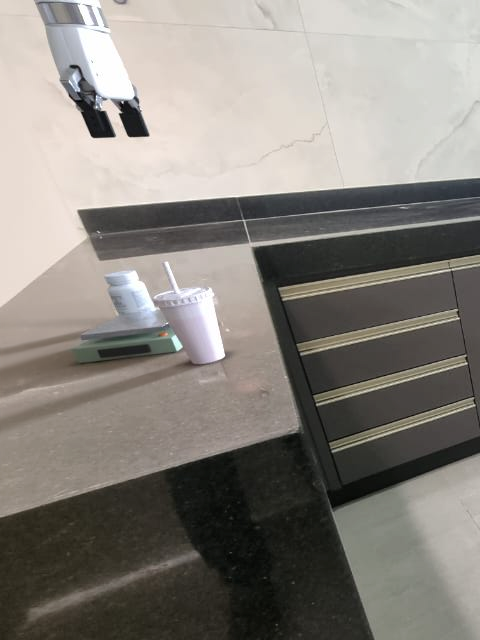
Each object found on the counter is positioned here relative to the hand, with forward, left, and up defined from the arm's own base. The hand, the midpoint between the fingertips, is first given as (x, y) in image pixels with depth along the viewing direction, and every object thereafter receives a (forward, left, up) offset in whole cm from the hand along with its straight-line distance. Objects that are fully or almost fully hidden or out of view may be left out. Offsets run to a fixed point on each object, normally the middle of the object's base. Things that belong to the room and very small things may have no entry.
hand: (122, 137), depth 91 cm
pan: (+6, -26, -26) cm, 38 cm away
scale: (+6, -26, -29) cm, 40 cm away
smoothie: (+18, -37, -30) cm, 51 cm away
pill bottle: (-2, -12, -30) cm, 32 cm away
